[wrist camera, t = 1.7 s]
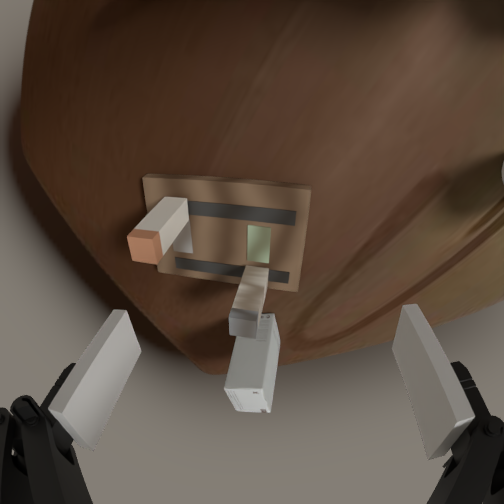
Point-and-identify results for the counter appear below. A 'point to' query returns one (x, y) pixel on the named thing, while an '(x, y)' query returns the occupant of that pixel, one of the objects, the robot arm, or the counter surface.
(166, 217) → the tab
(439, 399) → the robot arm
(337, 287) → the counter surface
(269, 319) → the skincare box
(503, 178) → the white cup
